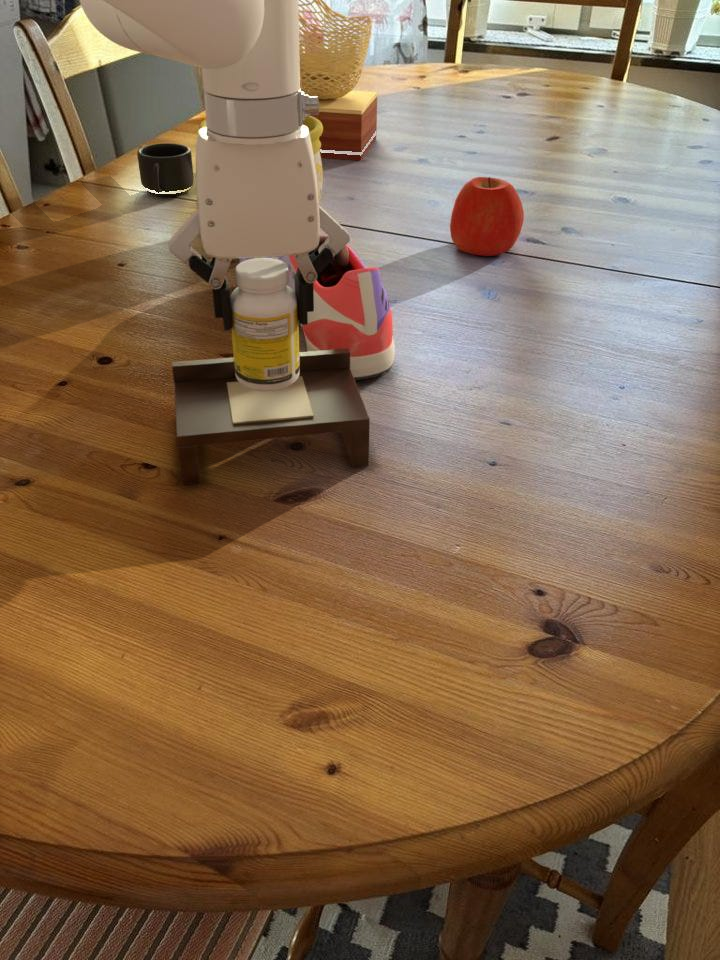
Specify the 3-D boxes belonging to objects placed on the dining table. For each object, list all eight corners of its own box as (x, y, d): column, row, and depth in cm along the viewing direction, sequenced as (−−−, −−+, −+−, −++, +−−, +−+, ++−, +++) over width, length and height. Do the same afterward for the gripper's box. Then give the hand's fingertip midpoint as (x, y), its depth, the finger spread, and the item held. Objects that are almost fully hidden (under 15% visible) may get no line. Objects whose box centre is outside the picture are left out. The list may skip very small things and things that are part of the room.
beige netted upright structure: (237, 151, 171) (224, -56, 150) (263, 128, 185) (254, -64, 164) (360, 161, 167) (364, -50, 146) (377, 137, 181) (383, -59, 160)
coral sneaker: (307, 263, 126) (306, 170, 118) (420, 377, 99) (427, 267, 91) (225, 275, 122) (218, 180, 114) (320, 398, 95) (319, 284, 87)
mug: (149, 183, 154) (144, 142, 150) (199, 184, 154) (195, 143, 149) (131, 205, 144) (125, 162, 140) (185, 207, 144) (180, 164, 140)
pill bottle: (260, 355, 86) (254, 248, 79) (312, 372, 83) (310, 263, 77) (221, 382, 81) (211, 271, 75) (275, 400, 79) (269, 287, 72)
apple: (527, 242, 134) (536, 172, 128) (506, 266, 126) (515, 193, 120) (461, 230, 137) (467, 162, 131) (437, 253, 129) (442, 182, 123)
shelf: (182, 485, 82) (174, 420, 77) (179, 423, 90) (171, 361, 86) (368, 466, 85) (370, 402, 80) (348, 408, 93) (348, 348, 89)
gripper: (351, 99, 73) (349, 298, 83) (142, 105, 70) (167, 310, 80) (369, 122, 67) (365, 332, 77) (141, 130, 64) (169, 347, 74)
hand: (264, 319), depth 79 cm, fingers closed on pill bottle, 6 cm apart
